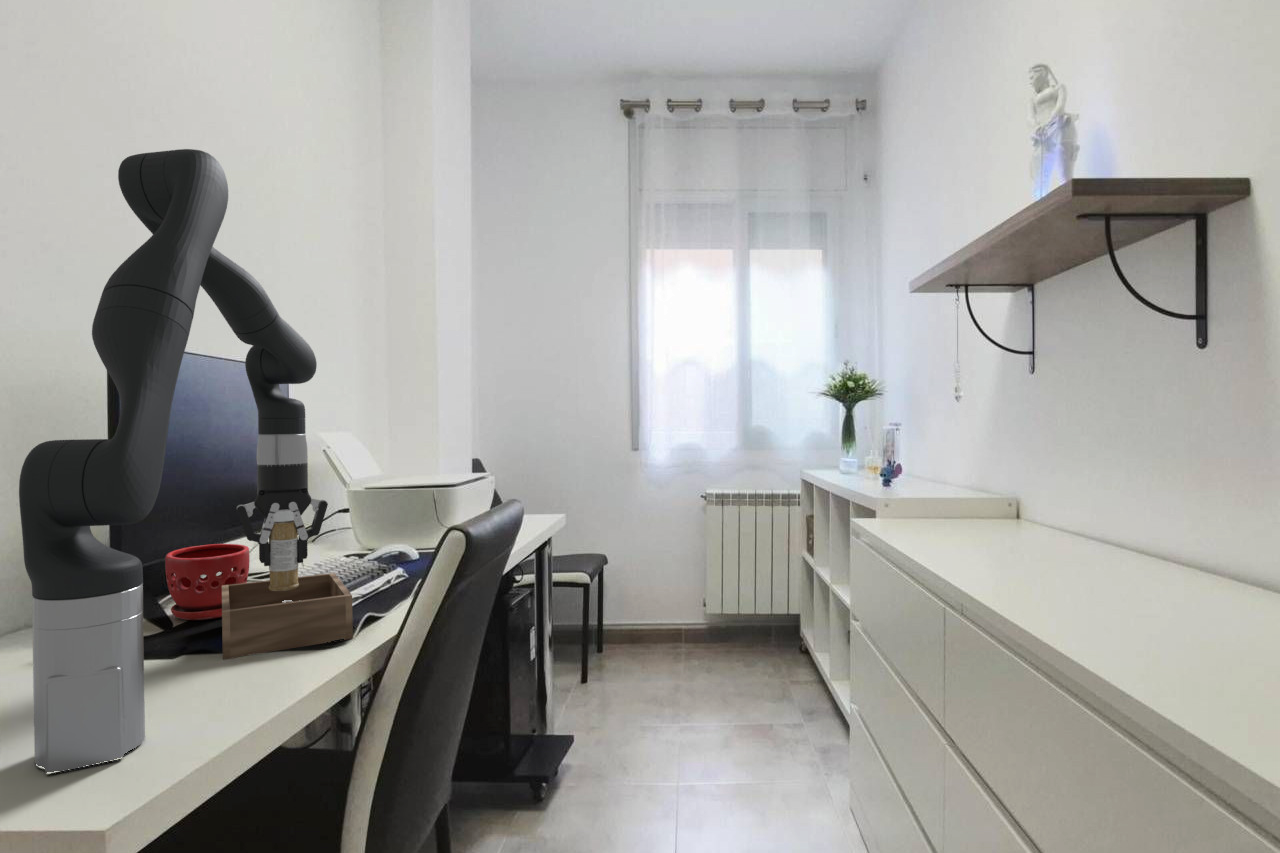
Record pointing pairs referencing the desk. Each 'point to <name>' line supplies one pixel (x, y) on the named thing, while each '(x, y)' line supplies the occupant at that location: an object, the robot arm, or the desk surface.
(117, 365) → the robot arm
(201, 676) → the desk surface
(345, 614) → the wooden box
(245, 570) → the plant pot
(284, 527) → the sprinkles bottle
